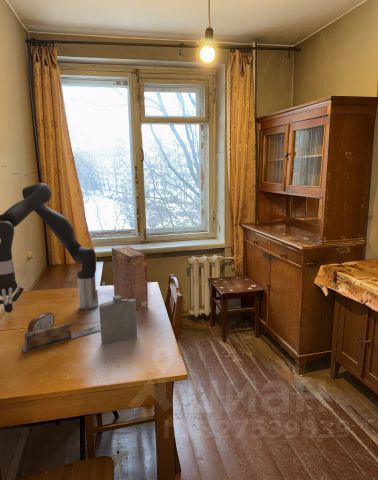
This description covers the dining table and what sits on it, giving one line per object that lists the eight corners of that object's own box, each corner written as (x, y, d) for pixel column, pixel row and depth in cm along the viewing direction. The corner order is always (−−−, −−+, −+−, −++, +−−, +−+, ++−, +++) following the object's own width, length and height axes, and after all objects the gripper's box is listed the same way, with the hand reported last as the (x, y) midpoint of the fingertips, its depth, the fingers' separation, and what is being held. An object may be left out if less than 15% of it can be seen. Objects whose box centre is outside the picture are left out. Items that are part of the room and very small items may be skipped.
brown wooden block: (69, 334, 161) (68, 321, 160) (72, 337, 158) (70, 324, 157) (25, 346, 151) (24, 333, 150) (27, 349, 148) (26, 336, 146)
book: (114, 297, 208) (111, 247, 202) (128, 293, 213) (126, 245, 207) (132, 311, 188) (130, 256, 182) (148, 307, 193) (146, 253, 187)
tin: (51, 324, 173) (49, 308, 171) (56, 325, 172) (54, 309, 170) (28, 338, 159) (26, 321, 157) (33, 339, 158) (31, 322, 156)
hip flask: (102, 344, 152) (99, 301, 148) (100, 340, 156) (97, 298, 152) (138, 337, 159) (136, 295, 155) (135, 333, 162) (133, 292, 158)
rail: (102, 325, 171) (102, 324, 171) (106, 329, 167) (106, 328, 167) (21, 347, 151) (21, 346, 150) (24, 352, 147) (24, 351, 146)
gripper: (20, 266, 146) (24, 305, 150) (-17, 271, 139) (-11, 313, 142) (23, 270, 140) (28, 311, 144) (-15, 276, 133) (-9, 319, 136)
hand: (8, 312), depth 143 cm, fingers closed
